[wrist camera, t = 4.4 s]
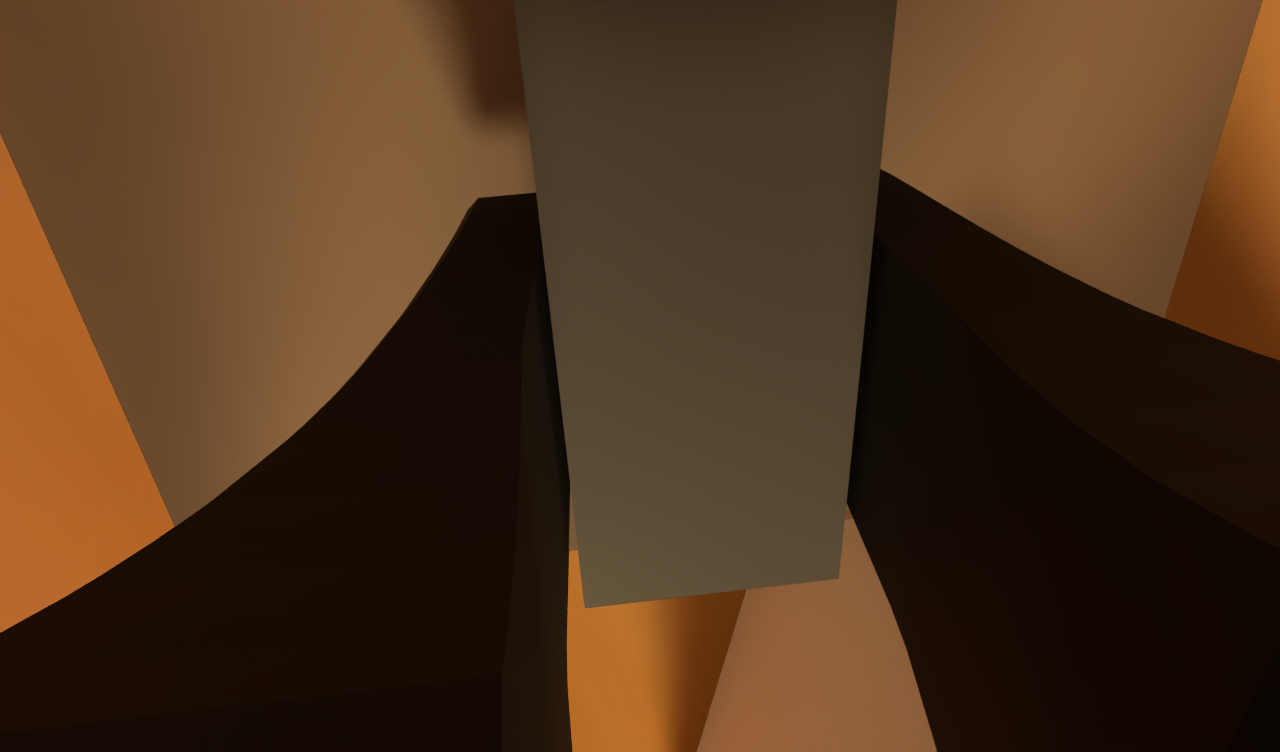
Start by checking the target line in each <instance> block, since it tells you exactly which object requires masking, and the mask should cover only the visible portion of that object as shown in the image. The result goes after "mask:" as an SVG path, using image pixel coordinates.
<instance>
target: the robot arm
mask: <svg viewBox="0 0 1280 752" xmlns="http://www.w3.org/2000/svg"><path fill="white" fill-rule="evenodd" d="M847 505H848V508H849V510H850V512H851V515H852V517H853V519H854V522H855V524H856V526H857V529H858V531H859V534H860V536H861V538H862V541H863V543H864V545H865V548H866V550H867V552H868V555H869V557H870V559H871V562H872V564H873V566H874V569H875V571H876V573H877V576H878V578H879V580H880V583H881V585H882V587H883V590H884V592H885V594H886V597H887V599H888V602H889V604H890V606H891V609H892V612H893V614H894V617H895V620H896V622H897V625H898V628H899V630H900V633H901V636H902V639H903V641H904V644H905V647H906V650H907V653H908V656H909V659H910V663H911V666H912V670H913V673H914V676H915V680H916V683H917V686H918V690H919V693H920V696H921V700H922V703H923V706H924V710H925V713H926V716H927V720H928V723H929V726H930V730H931V733H932V736H933V740H934V743H935V747H936V750H937V752H1280V361H1279V360H1276V359H1273V358H1270V357H1266V356H1263V355H1260V354H1258V353H1255V352H1252V351H1249V350H1246V349H1243V348H1240V347H1237V346H1235V345H1232V344H1229V343H1226V342H1223V341H1220V340H1218V339H1215V338H1212V337H1210V336H1207V335H1205V334H1202V333H1200V332H1197V331H1195V330H1192V329H1190V328H1187V327H1185V326H1182V325H1180V324H1177V323H1175V322H1172V321H1170V320H1167V319H1165V318H1162V317H1160V316H1157V315H1155V314H1152V313H1150V312H1147V311H1145V310H1142V309H1140V308H1138V307H1136V306H1133V305H1131V304H1129V303H1127V302H1124V301H1122V300H1120V299H1118V298H1115V297H1113V296H1111V295H1109V294H1107V293H1104V292H1102V291H1100V290H1098V289H1096V288H1094V287H1092V286H1090V285H1088V284H1086V283H1084V282H1082V281H1080V280H1078V279H1076V278H1074V277H1072V276H1070V275H1068V274H1066V273H1064V272H1062V271H1060V270H1058V269H1056V268H1054V267H1052V266H1050V265H1048V264H1046V263H1044V262H1043V261H1041V260H1039V259H1037V258H1035V257H1033V256H1031V255H1029V254H1028V253H1026V252H1024V251H1022V250H1020V249H1018V248H1017V247H1015V246H1013V245H1011V244H1009V243H1008V242H1006V241H1004V240H1002V239H1000V238H999V237H997V236H995V235H993V234H992V233H990V232H988V231H986V230H985V229H983V228H981V227H980V226H978V225H976V224H974V223H973V222H971V221H969V220H968V219H966V218H964V217H963V216H961V215H959V214H957V213H956V212H954V211H952V210H951V209H949V208H947V207H946V206H944V205H942V204H941V203H939V202H937V201H936V200H934V199H932V198H931V197H929V196H927V195H926V194H924V193H922V192H921V191H919V190H917V189H916V188H914V187H912V186H910V185H909V184H907V183H905V182H904V181H902V180H900V179H898V178H897V177H895V176H893V175H891V174H889V173H888V172H886V171H884V170H882V169H880V177H879V187H878V197H877V207H876V217H875V226H874V236H873V246H872V256H871V266H870V276H869V286H868V296H867V305H866V315H865V325H864V335H863V345H862V355H861V365H860V375H859V384H858V394H857V404H856V414H855V424H854V434H853V444H852V454H851V463H850V473H849V483H848V493H847ZM569 526H570V477H569V468H568V460H567V451H566V443H565V434H564V426H563V417H562V408H561V400H560V391H559V383H558V374H557V366H556V357H555V349H554V340H553V332H552V323H551V315H550V306H549V298H548V289H547V281H546V272H545V264H544V255H543V247H542V238H541V230H540V221H539V213H538V204H537V196H536V193H525V194H514V195H503V196H493V197H482V198H478V199H477V200H476V201H475V202H474V203H473V204H472V206H471V207H470V208H469V209H468V210H467V212H466V214H465V216H464V218H463V220H462V222H461V224H460V225H459V227H458V229H457V231H456V233H455V234H454V236H453V238H452V239H451V241H450V243H449V245H448V246H447V248H446V249H445V251H444V253H443V254H442V256H441V258H440V259H439V261H438V262H437V264H436V266H435V267H434V269H433V270H432V272H431V273H430V275H429V276H428V277H427V279H426V280H425V282H424V283H423V285H422V286H421V288H420V289H419V291H418V292H417V294H416V295H415V296H414V298H413V299H412V301H411V302H410V304H409V305H408V307H407V308H406V309H405V311H404V312H403V314H402V315H401V316H400V318H399V319H398V320H397V322H396V323H395V324H394V325H393V327H392V328H391V329H390V330H389V331H388V333H387V334H386V335H385V336H384V338H383V339H382V340H381V341H380V343H379V344H378V345H377V346H376V348H375V349H374V350H373V351H372V352H371V354H370V355H369V356H368V357H367V359H366V360H365V361H364V362H363V364H362V365H361V366H360V367H359V368H358V370H357V371H356V372H355V373H354V374H353V375H352V376H351V377H350V379H349V380H348V381H347V382H346V383H345V384H344V385H343V386H342V387H341V388H340V390H339V391H338V392H337V393H336V394H335V395H334V396H333V397H332V398H331V399H330V400H329V401H328V402H327V403H326V404H325V405H324V406H323V407H322V408H321V409H320V410H319V411H318V412H317V413H316V414H315V415H313V416H312V417H311V418H310V419H309V420H308V421H307V422H306V423H305V424H304V425H303V426H302V427H301V428H300V429H299V430H298V431H296V432H295V433H294V434H293V435H292V436H291V437H290V438H289V439H288V440H286V441H285V442H284V443H283V444H281V445H280V446H279V447H278V448H276V449H275V450H274V451H273V452H271V453H270V454H269V455H268V456H267V457H265V458H264V459H263V460H262V461H260V462H259V463H258V464H257V465H255V466H254V467H253V468H252V469H250V470H249V471H248V472H247V473H245V474H244V475H243V476H242V477H241V478H239V479H238V480H237V481H236V482H234V483H233V484H232V485H231V486H229V487H228V488H227V489H226V490H224V491H223V492H222V493H221V494H219V495H218V496H217V497H216V498H214V499H213V500H212V501H211V502H209V503H208V504H206V505H205V506H204V507H202V508H201V509H200V510H198V511H197V512H195V513H194V514H193V515H191V516H190V517H188V518H187V519H185V520H184V521H182V522H181V523H180V524H178V525H177V526H175V527H174V528H172V529H171V530H170V531H168V532H167V533H165V534H164V535H162V536H161V537H160V538H158V539H157V540H155V541H154V542H152V543H151V544H149V545H147V546H146V547H144V548H143V549H141V550H140V551H138V552H137V553H135V554H134V555H132V556H130V557H129V558H127V559H126V560H124V561H123V562H121V563H120V564H118V565H116V566H115V567H113V568H112V569H110V570H109V571H107V572H106V573H104V574H103V575H101V576H99V577H98V578H96V579H94V580H93V581H91V582H89V583H88V584H86V585H84V586H83V587H81V588H79V589H78V590H76V591H74V592H73V593H71V594H69V595H68V596H66V597H64V598H63V599H61V600H59V601H57V602H55V603H54V604H52V605H50V606H48V607H46V608H44V609H43V610H41V611H39V612H37V613H35V614H34V615H32V616H30V617H28V618H26V619H25V620H23V621H21V622H19V623H17V624H16V625H14V626H12V627H10V628H8V629H7V630H5V631H3V632H1V633H0V752H572V740H571V727H570V714H569V701H568V687H567V608H568V567H569Z"/></svg>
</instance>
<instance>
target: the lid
mask: <svg viewBox="0 0 1280 752" xmlns="http://www.w3.org/2000/svg"><path fill="white" fill-rule="evenodd" d="M1262 1H1263V0H0V134H1V136H2V138H3V140H4V143H5V145H6V147H7V149H8V152H9V154H10V156H11V158H12V161H13V163H14V165H15V167H16V170H17V172H18V174H19V176H20V179H21V181H22V183H23V185H24V188H25V190H26V192H27V194H28V197H29V199H30V201H31V203H32V206H33V208H34V210H35V212H36V215H37V217H38V219H39V221H40V224H41V226H42V228H43V231H44V233H45V235H46V237H47V240H48V242H49V244H50V246H51V249H52V251H53V253H54V255H55V258H56V260H57V262H58V264H59V267H60V269H61V271H62V273H63V276H64V278H65V280H66V282H67V285H68V287H69V289H70V291H71V294H72V296H73V298H74V300H75V303H76V305H77V307H78V309H79V312H80V314H81V316H82V318H83V321H84V323H85V325H86V327H87V330H88V332H89V334H90V337H91V339H92V341H93V343H94V346H95V348H96V350H97V352H98V355H99V357H100V359H101V361H102V364H103V366H104V368H105V370H106V373H107V375H108V377H109V379H110V382H111V384H112V386H113V388H114V391H115V393H116V395H117V397H118V400H119V402H120V404H121V406H122V409H123V411H124V413H125V415H126V418H127V420H128V422H129V424H130V427H131V429H132V431H133V433H134V436H135V438H136V440H137V443H138V445H139V447H140V449H141V452H142V454H143V456H144V458H145V461H146V463H147V465H148V467H149V470H150V472H151V474H152V476H153V479H154V481H155V483H156V485H157V488H158V490H159V492H160V494H161V497H162V499H163V501H164V503H165V506H166V508H167V510H168V512H169V515H170V517H171V519H172V521H173V524H174V526H177V525H178V524H180V523H181V522H182V521H184V520H185V519H187V518H188V517H190V516H191V515H193V514H194V513H195V512H197V511H198V510H200V509H201V508H202V507H204V506H205V505H206V504H208V503H209V502H211V501H212V500H213V499H214V498H216V497H217V496H218V495H219V494H221V493H222V492H223V491H224V490H226V489H227V488H228V487H229V486H231V485H232V484H233V483H234V482H236V481H237V480H238V479H239V478H241V477H242V476H243V475H244V474H245V473H247V472H248V471H249V470H250V469H252V468H253V467H254V466H255V465H257V464H258V463H259V462H260V461H262V460H263V459H264V458H265V457H267V456H268V455H269V454H270V453H271V452H273V451H274V450H275V449H276V448H278V447H279V446H280V445H281V444H283V443H284V442H285V441H286V440H288V439H289V438H290V437H291V436H292V435H293V434H294V433H295V432H296V431H298V430H299V429H300V428H301V427H302V426H303V425H304V424H305V423H306V422H307V421H308V420H309V419H310V418H311V417H312V416H313V415H315V414H316V413H317V412H318V411H319V410H320V409H321V408H322V407H323V406H324V405H325V404H326V403H327V402H328V401H329V400H330V399H331V398H332V397H333V396H334V395H335V394H336V393H337V392H338V391H339V390H340V388H341V387H342V386H343V385H344V384H345V383H346V382H347V381H348V380H349V379H350V377H351V376H352V375H353V374H354V373H355V372H356V371H357V370H358V368H359V367H360V366H361V365H362V364H363V362H364V361H365V360H366V359H367V357H368V356H369V355H370V354H371V352H372V351H373V350H374V349H375V348H376V346H377V345H378V344H379V343H380V341H381V340H382V339H383V338H384V336H385V335H386V334H387V333H388V331H389V330H390V329H391V328H392V327H393V325H394V324H395V323H396V322H397V320H398V319H399V318H400V316H401V315H402V314H403V312H404V311H405V309H406V308H407V307H408V305H409V304H410V302H411V301H412V299H413V298H414V296H415V295H416V294H417V292H418V291H419V289H420V288H421V286H422V285H423V283H424V282H425V280H426V279H427V277H428V276H429V275H430V273H431V272H432V270H433V269H434V267H435V266H436V264H437V262H438V261H439V259H440V258H441V256H442V254H443V253H444V251H445V249H446V248H447V246H448V245H449V243H450V241H451V239H452V238H453V236H454V234H455V233H456V231H457V229H458V227H459V225H460V224H461V222H462V220H463V218H464V216H465V214H466V212H467V210H468V209H469V208H470V207H471V206H472V204H473V203H474V202H475V201H476V200H477V199H478V198H482V197H493V196H503V195H514V194H525V193H536V196H537V204H538V213H539V221H540V230H541V238H542V247H543V255H544V264H545V272H546V281H547V289H548V298H549V306H550V315H551V323H552V332H553V340H554V349H555V357H556V366H557V374H558V383H559V391H560V400H561V408H562V417H563V426H564V434H565V443H566V451H567V460H568V468H569V477H570V526H569V551H572V550H578V553H579V562H580V570H581V579H582V587H583V596H584V604H585V608H592V607H600V606H609V605H618V604H626V603H635V602H644V601H652V600H661V599H670V598H678V597H687V596H696V595H704V594H713V593H722V592H730V591H739V590H748V589H756V588H765V587H774V586H782V585H791V584H799V583H808V582H817V581H825V580H834V579H839V572H840V562H841V552H842V542H843V533H844V523H845V520H848V519H853V517H852V515H851V512H850V510H849V508H848V505H847V493H848V483H849V473H850V463H851V454H852V444H853V434H854V424H855V414H856V404H857V394H858V384H859V375H860V365H861V355H862V345H863V335H864V325H865V315H866V305H867V296H868V286H869V276H870V266H871V256H872V246H873V236H874V226H875V217H876V207H877V197H878V187H879V177H880V169H882V170H884V171H886V172H888V173H889V174H891V175H893V176H895V177H897V178H898V179H900V180H902V181H904V182H905V183H907V184H909V185H910V186H912V187H914V188H916V189H917V190H919V191H921V192H922V193H924V194H926V195H927V196H929V197H931V198H932V199H934V200H936V201H937V202H939V203H941V204H942V205H944V206H946V207H947V208H949V209H951V210H952V211H954V212H956V213H957V214H959V215H961V216H963V217H964V218H966V219H968V220H969V221H971V222H973V223H974V224H976V225H978V226H980V227H981V228H983V229H985V230H986V231H988V232H990V233H992V234H993V235H995V236H997V237H999V238H1000V239H1002V240H1004V241H1006V242H1008V243H1009V244H1011V245H1013V246H1015V247H1017V248H1018V249H1020V250H1022V251H1024V252H1026V253H1028V254H1029V255H1031V256H1033V257H1035V258H1037V259H1039V260H1041V261H1043V262H1044V263H1046V264H1048V265H1050V266H1052V267H1054V268H1056V269H1058V270H1060V271H1062V272H1064V273H1066V274H1068V275H1070V276H1072V277H1074V278H1076V279H1078V280H1080V281H1082V282H1084V283H1086V284H1088V285H1090V286H1092V287H1094V288H1096V289H1098V290H1100V291H1102V292H1104V293H1107V294H1109V295H1111V296H1113V297H1115V298H1118V299H1120V300H1122V301H1124V302H1127V303H1129V304H1131V305H1133V306H1136V307H1138V308H1140V309H1142V310H1145V311H1147V312H1150V313H1152V314H1155V315H1157V316H1160V317H1162V318H1165V315H1166V311H1167V308H1168V305H1169V302H1170V298H1171V295H1172V292H1173V289H1174V285H1175V282H1176V279H1177V276H1178V273H1179V269H1180V266H1181V263H1182V260H1183V256H1184V253H1185V250H1186V247H1187V243H1188V240H1189V237H1190V234H1191V230H1192V227H1193V224H1194V221H1195V218H1196V214H1197V211H1198V208H1199V205H1200V201H1201V198H1202V195H1203V192H1204V188H1205V185H1206V182H1207V179H1208V176H1209V172H1210V169H1211V166H1212V163H1213V159H1214V156H1215V153H1216V150H1217V146H1218V143H1219V140H1220V137H1221V134H1222V130H1223V127H1224V124H1225V121H1226V117H1227V114H1228V111H1229V108H1230V104H1231V101H1232V98H1233V95H1234V92H1235V88H1236V85H1237V82H1238V79H1239V75H1240V72H1241V69H1242V66H1243V62H1244V59H1245V56H1246V53H1247V50H1248V46H1249V43H1250V40H1251V37H1252V33H1253V30H1254V27H1255V24H1256V20H1257V17H1258V14H1259V11H1260V8H1261V4H1262Z"/></svg>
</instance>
